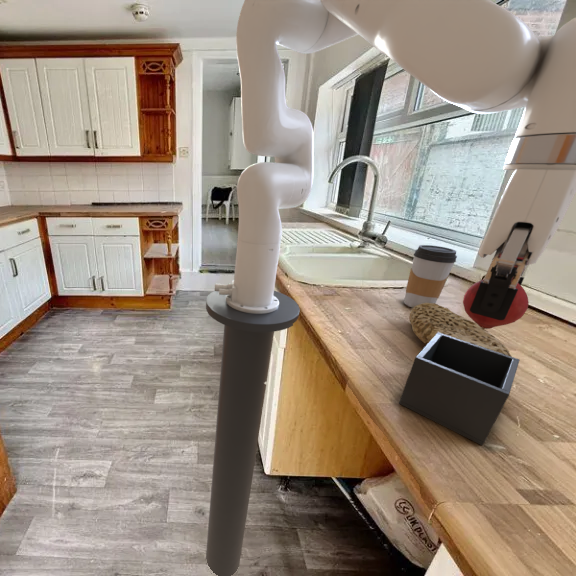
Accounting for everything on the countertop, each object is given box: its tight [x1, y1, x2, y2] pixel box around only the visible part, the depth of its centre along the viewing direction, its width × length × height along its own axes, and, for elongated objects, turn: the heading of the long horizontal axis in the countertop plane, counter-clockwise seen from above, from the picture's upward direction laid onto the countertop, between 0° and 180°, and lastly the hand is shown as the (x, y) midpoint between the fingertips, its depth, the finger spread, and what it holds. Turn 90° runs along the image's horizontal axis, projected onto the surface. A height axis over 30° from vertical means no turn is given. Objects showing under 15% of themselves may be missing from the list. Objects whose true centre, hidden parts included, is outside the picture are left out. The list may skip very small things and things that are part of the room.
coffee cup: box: [403, 244, 458, 309], centre depth 76 cm, size 8×8×15 cm
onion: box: [462, 276, 529, 330], centre depth 39 cm, size 6×6×8 cm
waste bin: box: [398, 332, 520, 446], centre depth 44 cm, size 11×9×8 cm
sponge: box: [409, 303, 512, 357], centre depth 58 cm, size 13×8×20 cm
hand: (491, 307), depth 39 cm, fingers closed on onion, 5 cm apart
